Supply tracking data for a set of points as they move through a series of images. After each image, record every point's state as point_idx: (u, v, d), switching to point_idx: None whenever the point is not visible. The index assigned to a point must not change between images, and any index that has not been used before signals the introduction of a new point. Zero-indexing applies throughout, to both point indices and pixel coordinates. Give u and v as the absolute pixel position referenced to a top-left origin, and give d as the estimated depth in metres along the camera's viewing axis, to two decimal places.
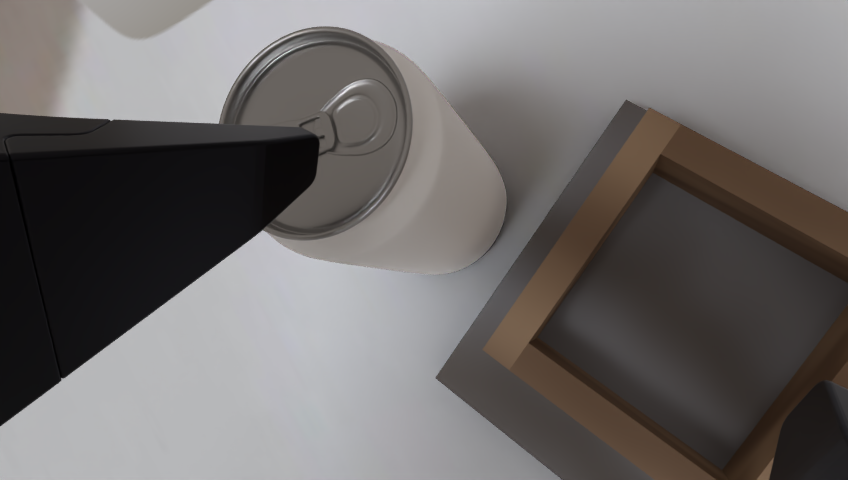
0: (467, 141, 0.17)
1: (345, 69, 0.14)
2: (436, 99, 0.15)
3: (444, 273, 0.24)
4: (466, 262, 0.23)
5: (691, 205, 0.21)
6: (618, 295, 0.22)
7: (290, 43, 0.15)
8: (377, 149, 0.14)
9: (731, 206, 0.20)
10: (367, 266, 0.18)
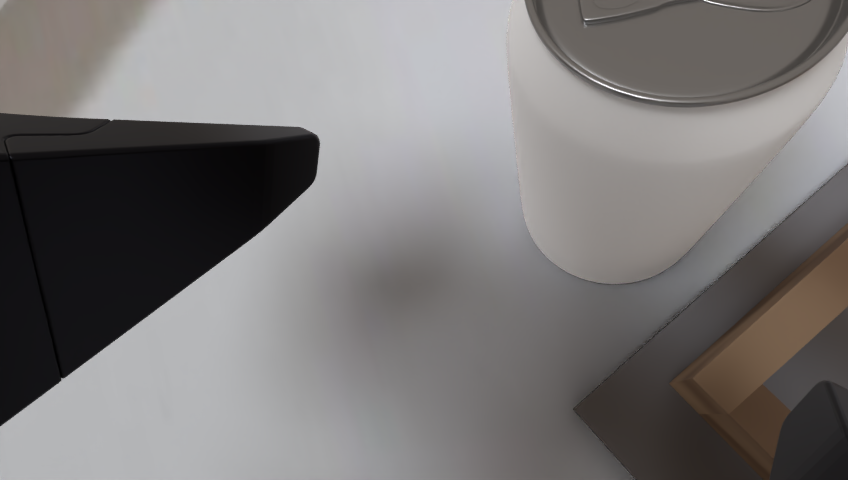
0: None
1: None
2: None
3: (611, 281, 0.19)
4: (651, 272, 0.18)
5: None
6: (847, 360, 0.17)
7: None
8: (790, 7, 0.09)
9: None
10: (615, 212, 0.13)
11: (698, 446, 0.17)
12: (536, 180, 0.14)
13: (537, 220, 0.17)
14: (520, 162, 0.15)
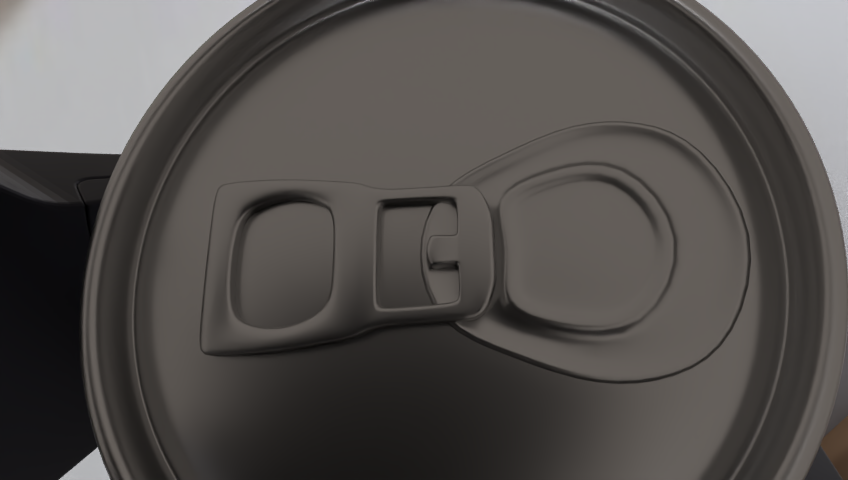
0: None
1: (572, 80, 0.04)
2: None
3: None
4: None
5: None
6: None
7: None
8: (649, 378, 0.04)
9: None
10: None
11: None
12: None
13: None
14: None
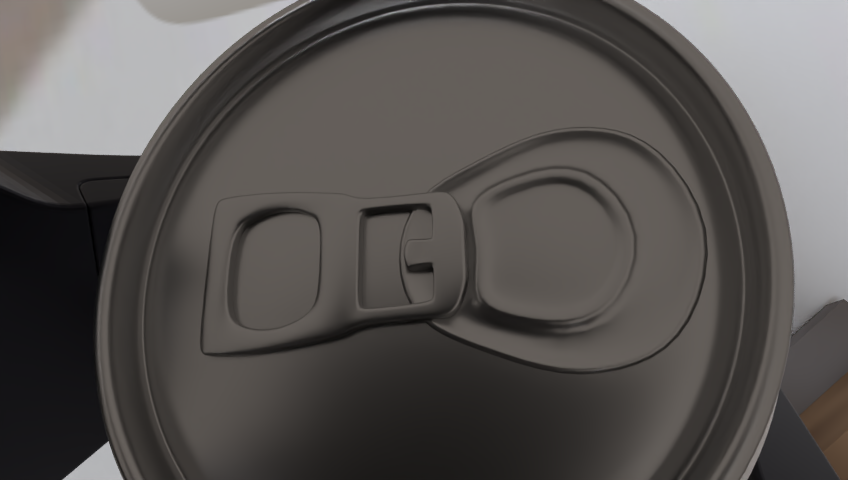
0: None
1: (539, 89, 0.05)
2: None
3: None
4: None
5: None
6: None
7: None
8: (611, 367, 0.04)
9: None
10: None
11: None
12: None
13: None
14: None
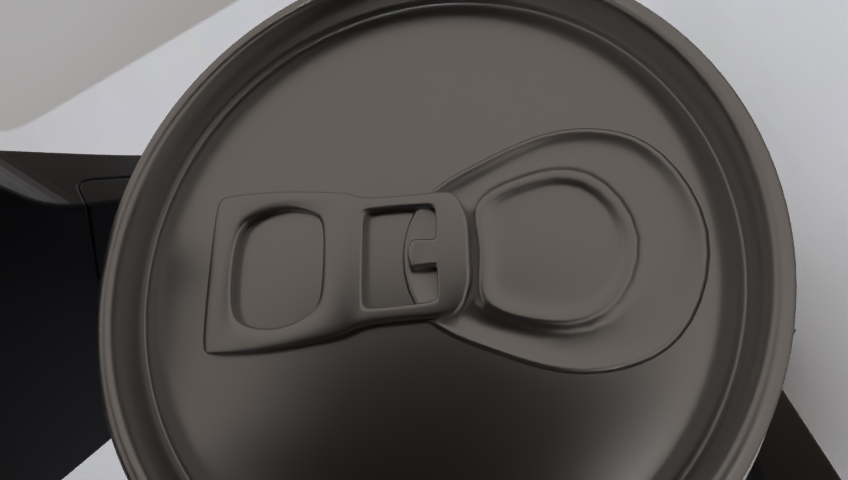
0: None
1: (544, 90, 0.05)
2: None
3: None
4: None
5: None
6: None
7: None
8: (614, 368, 0.04)
9: None
10: None
11: None
12: None
13: None
14: None
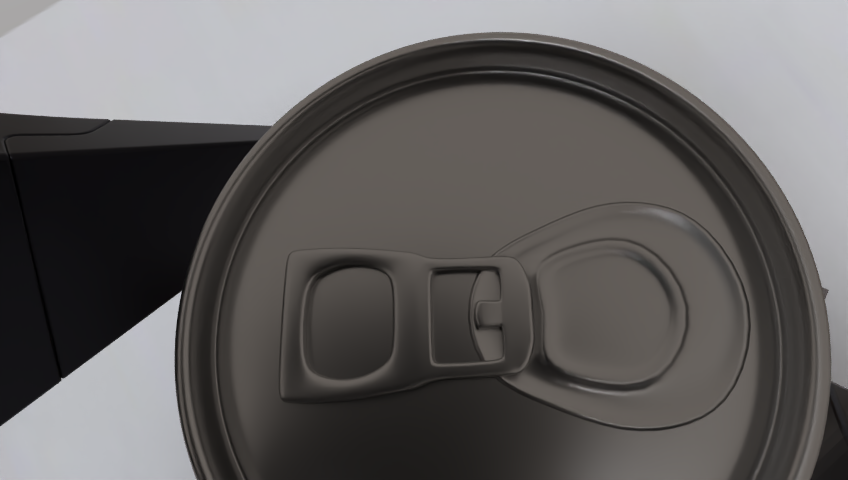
0: None
1: (597, 163, 0.05)
2: None
3: None
4: None
5: None
6: None
7: (454, 60, 0.06)
8: (667, 426, 0.04)
9: None
10: None
11: None
12: None
13: None
14: None
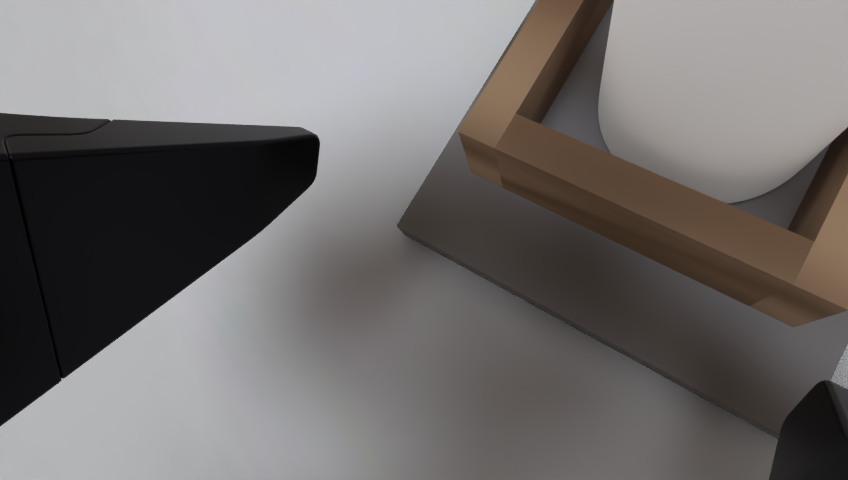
0: None
1: None
2: None
3: None
4: (766, 184, 0.15)
5: None
6: None
7: None
8: None
9: None
10: (782, 56, 0.10)
11: (509, 214, 0.18)
12: (658, 34, 0.11)
13: (634, 114, 0.14)
14: (629, 22, 0.12)
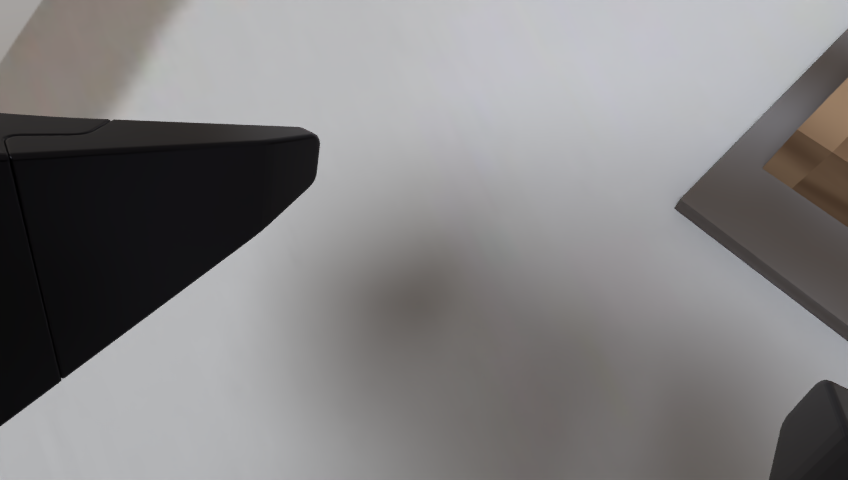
0: None
1: None
2: None
3: None
4: None
5: None
6: None
7: None
8: None
9: None
10: None
11: (794, 214, 0.20)
12: None
13: None
14: None
